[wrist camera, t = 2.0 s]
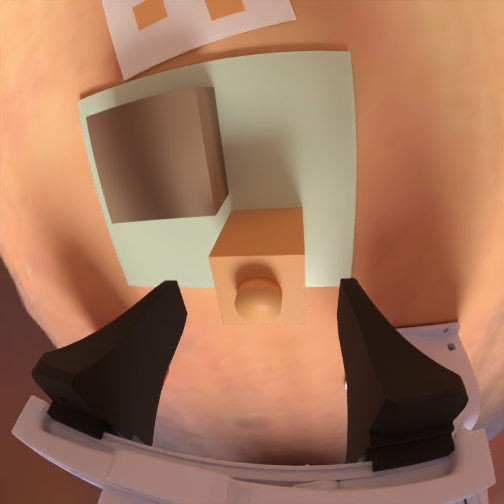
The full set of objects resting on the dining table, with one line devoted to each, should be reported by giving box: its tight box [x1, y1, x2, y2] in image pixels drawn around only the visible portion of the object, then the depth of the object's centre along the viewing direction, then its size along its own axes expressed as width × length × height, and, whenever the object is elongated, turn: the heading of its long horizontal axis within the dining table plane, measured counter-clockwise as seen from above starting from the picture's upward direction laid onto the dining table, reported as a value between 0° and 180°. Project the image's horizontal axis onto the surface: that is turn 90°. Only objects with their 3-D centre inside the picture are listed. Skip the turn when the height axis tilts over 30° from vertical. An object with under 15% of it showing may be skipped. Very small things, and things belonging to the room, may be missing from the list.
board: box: [77, 51, 357, 288], centre depth 16 cm, size 16×14×1 cm
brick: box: [208, 207, 305, 326], centre depth 15 cm, size 4×4×6 cm
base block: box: [86, 86, 229, 224], centre depth 14 cm, size 6×6×3 cm
